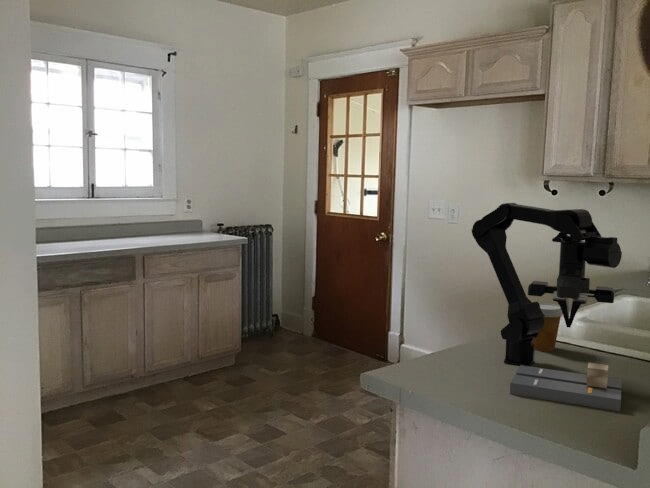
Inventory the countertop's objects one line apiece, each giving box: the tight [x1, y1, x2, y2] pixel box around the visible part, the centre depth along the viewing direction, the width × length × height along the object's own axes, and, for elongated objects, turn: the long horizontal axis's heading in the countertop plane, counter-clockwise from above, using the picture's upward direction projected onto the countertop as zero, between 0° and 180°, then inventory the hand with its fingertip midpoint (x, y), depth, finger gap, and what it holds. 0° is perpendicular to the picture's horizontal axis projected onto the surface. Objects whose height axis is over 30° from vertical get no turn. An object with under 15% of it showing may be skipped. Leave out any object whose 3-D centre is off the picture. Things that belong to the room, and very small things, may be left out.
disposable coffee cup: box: [533, 302, 563, 352], centre depth 170 cm, size 10×10×12 cm
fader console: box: [509, 365, 623, 412], centre depth 137 cm, size 22×14×3 cm, turn 64°
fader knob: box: [586, 362, 609, 389], centre depth 134 cm, size 4×4×6 cm
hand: (568, 327), depth 147 cm, fingers closed
